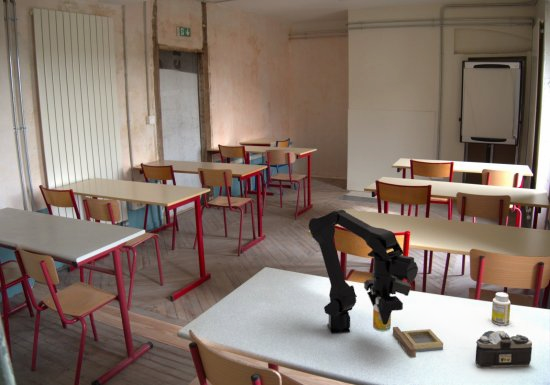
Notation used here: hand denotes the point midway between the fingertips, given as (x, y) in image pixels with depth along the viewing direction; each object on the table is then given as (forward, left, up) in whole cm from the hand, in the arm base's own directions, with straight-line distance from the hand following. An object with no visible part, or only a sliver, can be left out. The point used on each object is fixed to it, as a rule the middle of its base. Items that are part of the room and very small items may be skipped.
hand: (381, 320), depth 152 cm
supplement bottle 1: (0, 0, -3) cm, 3 cm away
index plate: (+13, 0, -9) cm, 16 cm away
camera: (+31, -13, -9) cm, 35 cm away
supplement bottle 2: (+46, +10, -9) cm, 48 cm away
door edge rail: (+7, 0, -9) cm, 12 cm away
